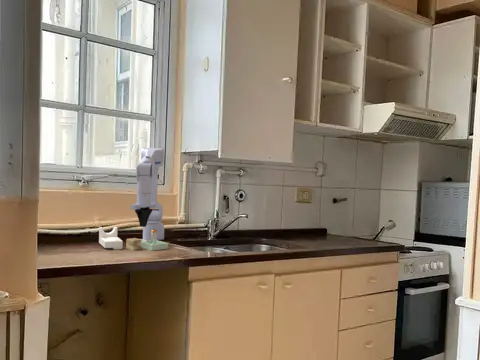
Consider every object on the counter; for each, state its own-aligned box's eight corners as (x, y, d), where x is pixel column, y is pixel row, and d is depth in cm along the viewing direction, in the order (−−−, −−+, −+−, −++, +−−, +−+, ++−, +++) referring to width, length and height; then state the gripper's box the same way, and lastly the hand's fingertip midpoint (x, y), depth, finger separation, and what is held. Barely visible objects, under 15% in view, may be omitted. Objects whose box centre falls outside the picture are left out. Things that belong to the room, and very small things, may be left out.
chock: (134, 247, 194) (134, 238, 194) (141, 249, 190) (141, 239, 190) (126, 248, 191) (126, 238, 191) (132, 250, 187) (133, 240, 187)
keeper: (141, 243, 202) (141, 239, 202) (147, 245, 199) (147, 240, 199) (131, 244, 199) (131, 240, 199) (137, 246, 196) (137, 241, 196)
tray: (155, 245, 200) (155, 240, 200) (167, 248, 194) (168, 243, 194) (139, 247, 194) (139, 241, 194) (151, 250, 188) (152, 244, 188)
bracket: (98, 244, 197) (99, 227, 197) (115, 244, 200) (116, 226, 200) (104, 250, 186) (105, 231, 185) (122, 249, 189) (123, 231, 189)
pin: (154, 245, 196) (154, 229, 195) (157, 246, 194) (158, 230, 194) (149, 246, 194) (150, 229, 194) (152, 247, 192) (153, 230, 192)
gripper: (147, 191, 194) (146, 223, 194) (124, 192, 181) (123, 227, 181) (161, 192, 191) (159, 225, 191) (139, 194, 178) (137, 229, 178)
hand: (143, 226), depth 186 cm, fingers closed
